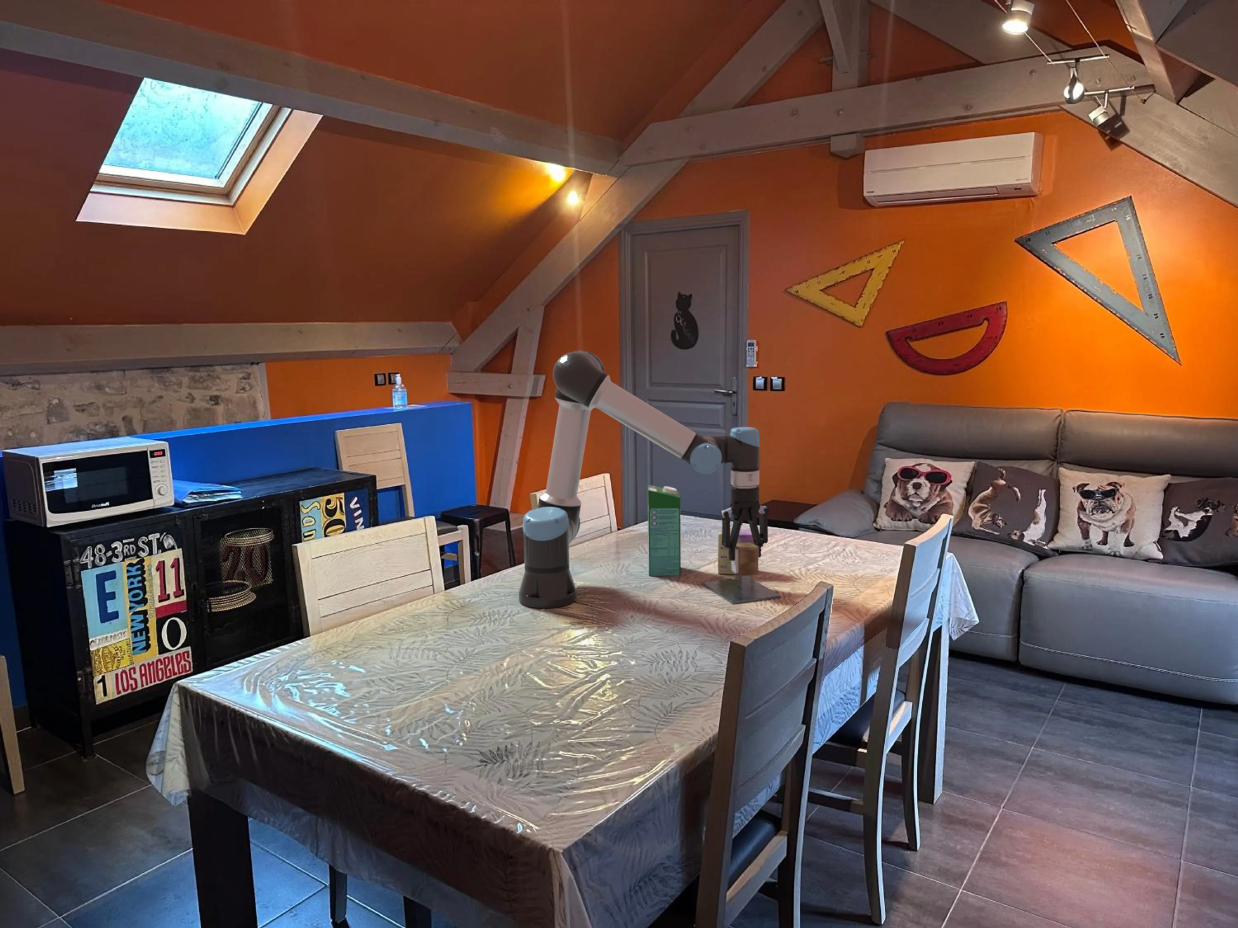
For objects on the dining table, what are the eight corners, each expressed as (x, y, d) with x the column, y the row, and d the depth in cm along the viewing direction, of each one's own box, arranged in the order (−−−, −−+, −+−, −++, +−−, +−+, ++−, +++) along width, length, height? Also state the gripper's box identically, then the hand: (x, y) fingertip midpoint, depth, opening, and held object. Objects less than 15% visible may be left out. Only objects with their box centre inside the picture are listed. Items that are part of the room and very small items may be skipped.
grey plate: (732, 603, 219) (732, 573, 217) (703, 584, 235) (703, 556, 234) (780, 597, 223) (781, 567, 222) (748, 579, 240) (749, 551, 239)
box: (753, 569, 250) (754, 529, 248) (754, 574, 244) (755, 534, 242) (717, 568, 251) (717, 529, 249) (717, 574, 245) (718, 534, 243)
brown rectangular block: (740, 576, 228) (740, 548, 227) (731, 571, 233) (731, 544, 231) (758, 574, 229) (758, 546, 228) (749, 569, 234) (749, 542, 233)
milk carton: (680, 575, 244) (680, 489, 240) (649, 575, 244) (648, 489, 240) (679, 566, 253) (678, 483, 249) (648, 567, 253) (647, 484, 249)
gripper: (719, 490, 221) (720, 578, 225) (782, 485, 227) (781, 570, 230) (707, 486, 228) (708, 570, 232) (768, 480, 234) (768, 563, 237)
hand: (744, 570), depth 231 cm, fingers closed on brown rectangular block, 5 cm apart
